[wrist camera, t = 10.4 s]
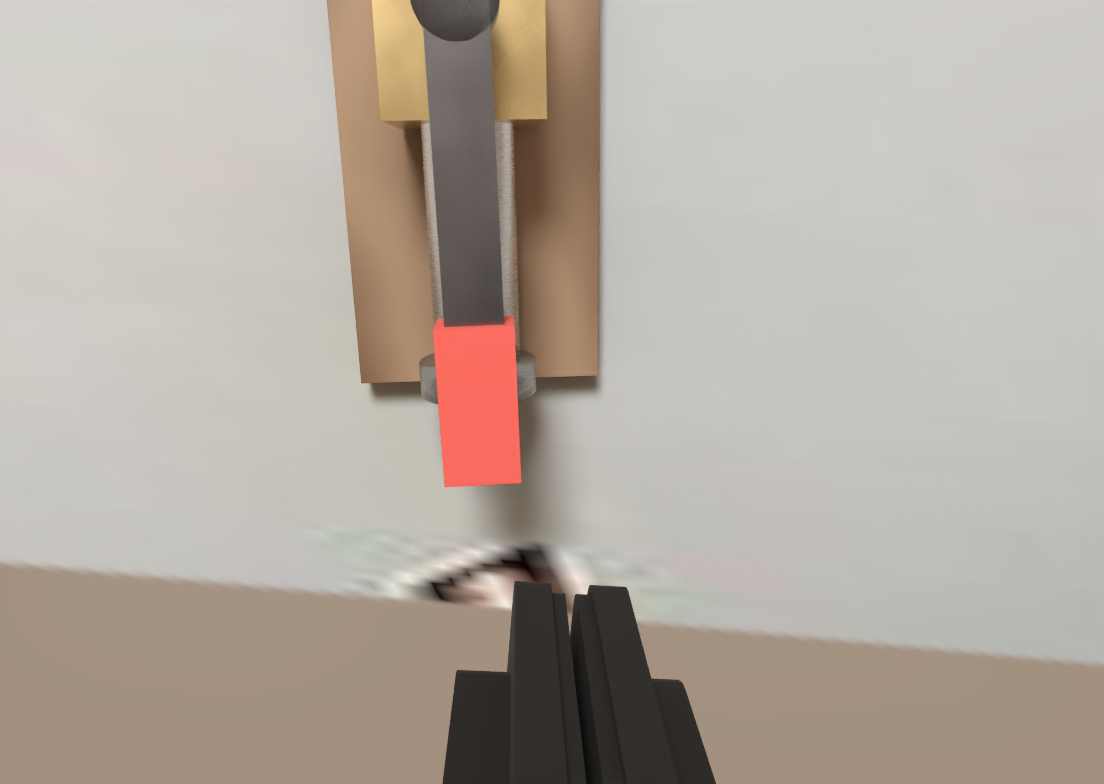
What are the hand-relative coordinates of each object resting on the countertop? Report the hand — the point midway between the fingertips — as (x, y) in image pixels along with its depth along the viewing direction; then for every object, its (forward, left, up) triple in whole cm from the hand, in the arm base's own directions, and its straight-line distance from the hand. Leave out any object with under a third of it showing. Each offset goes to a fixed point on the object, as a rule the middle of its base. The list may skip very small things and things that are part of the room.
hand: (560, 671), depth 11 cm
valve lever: (+2, -5, -14) cm, 15 cm away
